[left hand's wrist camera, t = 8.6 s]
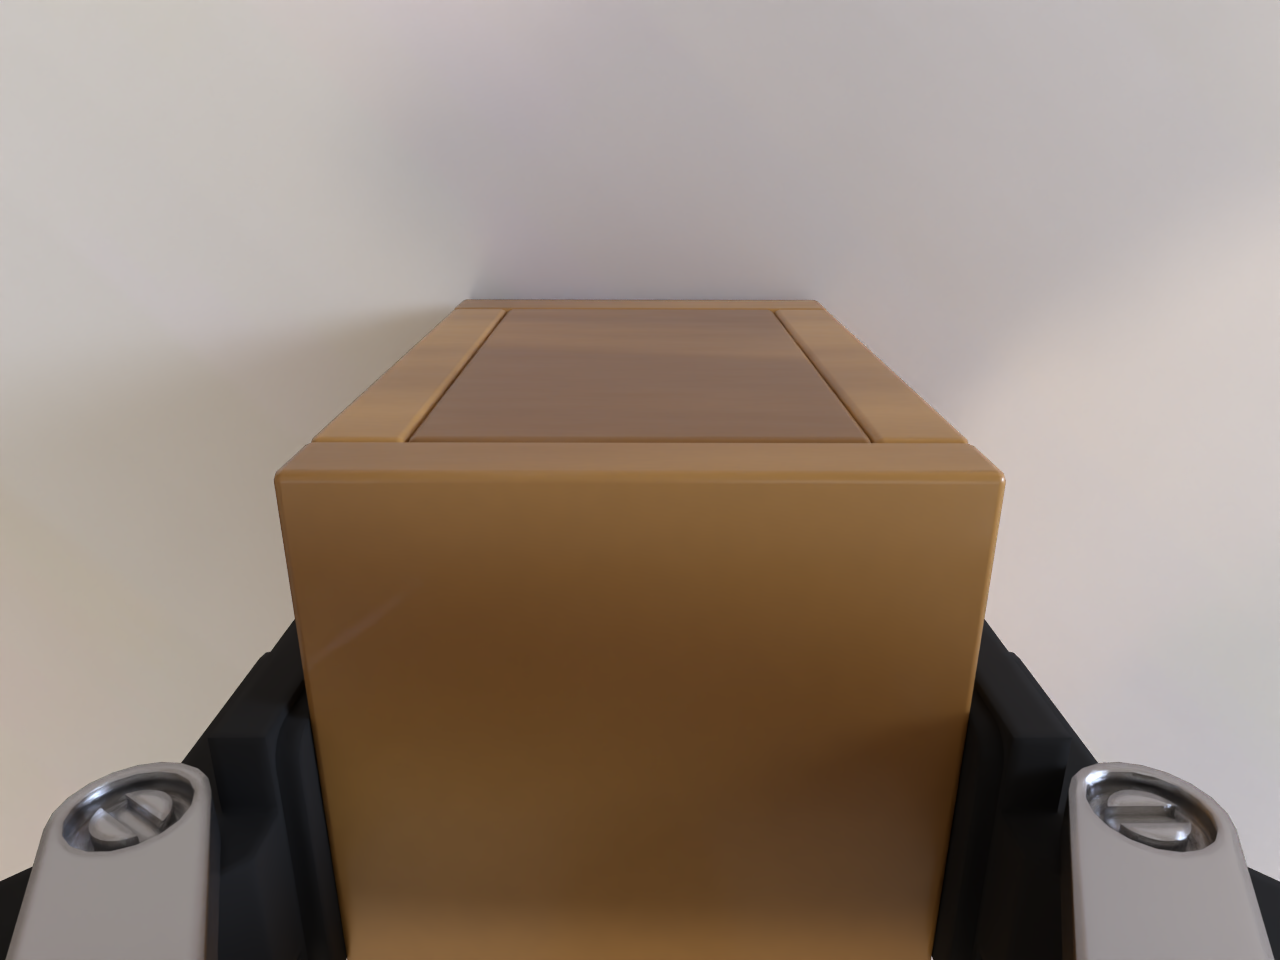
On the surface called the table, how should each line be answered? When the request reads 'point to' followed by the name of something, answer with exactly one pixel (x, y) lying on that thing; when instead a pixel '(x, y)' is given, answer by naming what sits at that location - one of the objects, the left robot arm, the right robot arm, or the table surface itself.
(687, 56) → the table surface
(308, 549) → the cabinet
